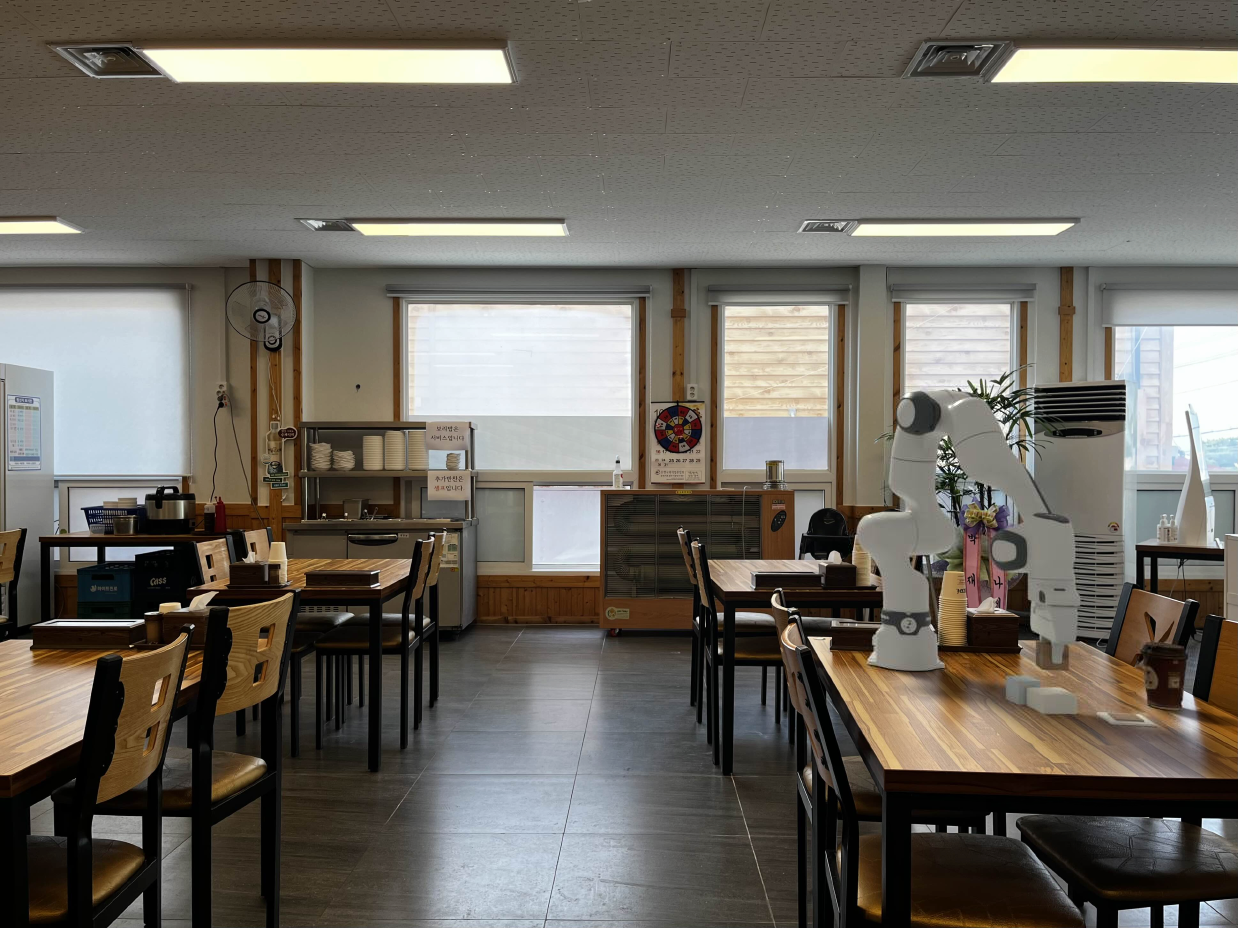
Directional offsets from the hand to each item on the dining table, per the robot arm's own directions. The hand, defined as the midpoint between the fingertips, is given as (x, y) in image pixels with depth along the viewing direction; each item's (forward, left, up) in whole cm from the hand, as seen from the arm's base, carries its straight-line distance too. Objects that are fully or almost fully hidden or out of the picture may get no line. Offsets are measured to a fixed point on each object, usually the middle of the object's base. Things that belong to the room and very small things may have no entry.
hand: (1051, 659), depth 186 cm
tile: (+6, +12, -10) cm, 17 cm away
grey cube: (-6, -4, -10) cm, 13 cm away
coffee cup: (-8, +24, -10) cm, 27 cm away
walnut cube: (0, 0, -2) cm, 2 cm away
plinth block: (0, 0, -10) cm, 10 cm away
